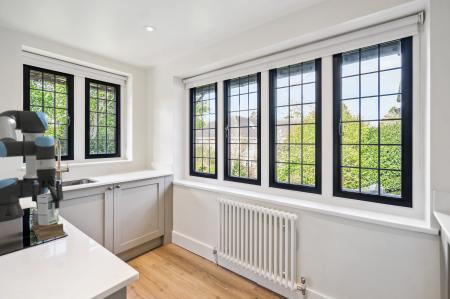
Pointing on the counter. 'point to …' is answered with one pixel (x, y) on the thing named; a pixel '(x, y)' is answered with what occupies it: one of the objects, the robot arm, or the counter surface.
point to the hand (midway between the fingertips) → (48, 215)
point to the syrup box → (46, 210)
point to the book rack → (46, 229)
